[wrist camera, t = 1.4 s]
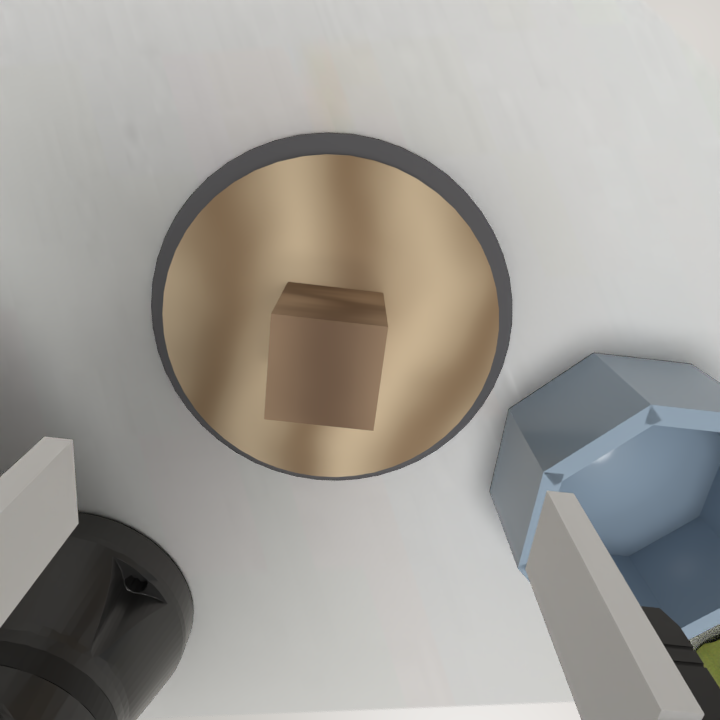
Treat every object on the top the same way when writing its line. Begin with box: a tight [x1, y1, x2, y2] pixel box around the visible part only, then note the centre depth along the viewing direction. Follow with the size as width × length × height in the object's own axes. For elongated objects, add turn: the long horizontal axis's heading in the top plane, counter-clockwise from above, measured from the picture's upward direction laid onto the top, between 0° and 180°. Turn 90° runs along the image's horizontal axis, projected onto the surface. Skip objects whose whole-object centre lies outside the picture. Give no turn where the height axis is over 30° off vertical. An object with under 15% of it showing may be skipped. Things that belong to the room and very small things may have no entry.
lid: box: [162, 154, 499, 477], centre depth 29 cm, size 18×18×7 cm
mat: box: [151, 133, 512, 480], centre depth 32 cm, size 20×20×1 cm
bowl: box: [490, 353, 720, 640], centre depth 32 cm, size 14×14×7 cm
